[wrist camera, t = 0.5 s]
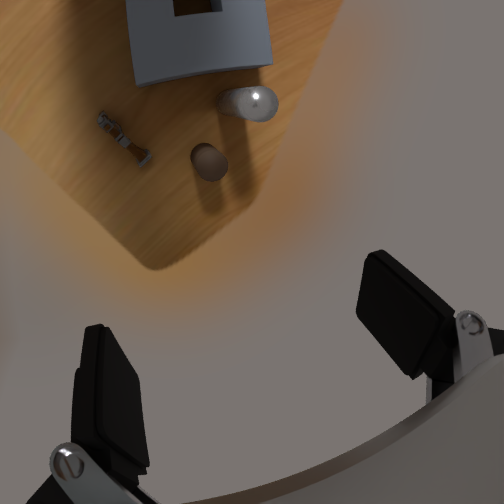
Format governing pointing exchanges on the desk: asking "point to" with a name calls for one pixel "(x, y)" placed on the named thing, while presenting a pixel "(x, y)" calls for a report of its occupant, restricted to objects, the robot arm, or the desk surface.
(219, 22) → the hole block
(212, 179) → the short pin
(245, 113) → the long pin
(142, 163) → the wooden post with brackets
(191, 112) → the desk surface
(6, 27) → the desk surface
